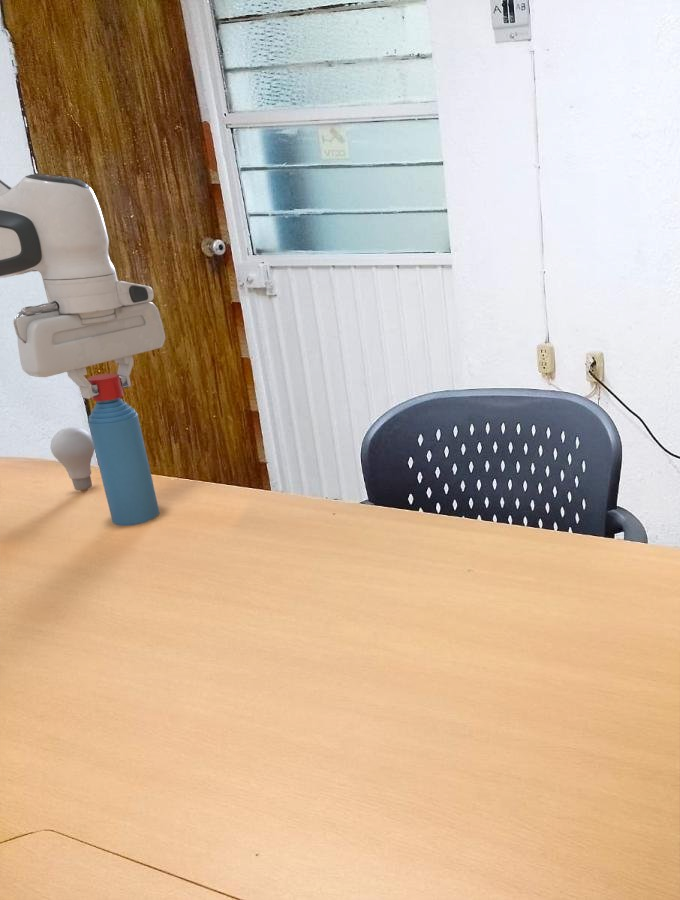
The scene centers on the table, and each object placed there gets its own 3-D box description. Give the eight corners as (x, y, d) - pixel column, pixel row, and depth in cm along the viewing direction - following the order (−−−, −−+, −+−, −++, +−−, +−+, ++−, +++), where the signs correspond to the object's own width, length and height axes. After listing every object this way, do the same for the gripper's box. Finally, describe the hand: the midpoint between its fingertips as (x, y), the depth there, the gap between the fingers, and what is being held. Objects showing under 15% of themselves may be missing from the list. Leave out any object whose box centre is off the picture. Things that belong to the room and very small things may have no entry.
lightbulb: (54, 496, 135) (36, 433, 132) (84, 483, 141) (68, 421, 137) (84, 499, 134) (68, 435, 130) (114, 485, 140) (99, 423, 136)
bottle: (106, 528, 123) (71, 388, 116) (120, 511, 129) (88, 377, 122) (152, 523, 124) (121, 384, 117) (164, 506, 130) (135, 374, 123)
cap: (130, 394, 121) (125, 374, 120) (105, 402, 118) (100, 381, 117) (110, 392, 123) (106, 372, 122) (86, 399, 119) (80, 379, 118)
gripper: (26, 310, 105) (54, 414, 110) (161, 286, 123) (180, 376, 128) (-6, 308, 108) (22, 410, 112) (131, 285, 125) (150, 374, 130)
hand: (107, 392), depth 120 cm, fingers closed on cap, 4 cm apart
